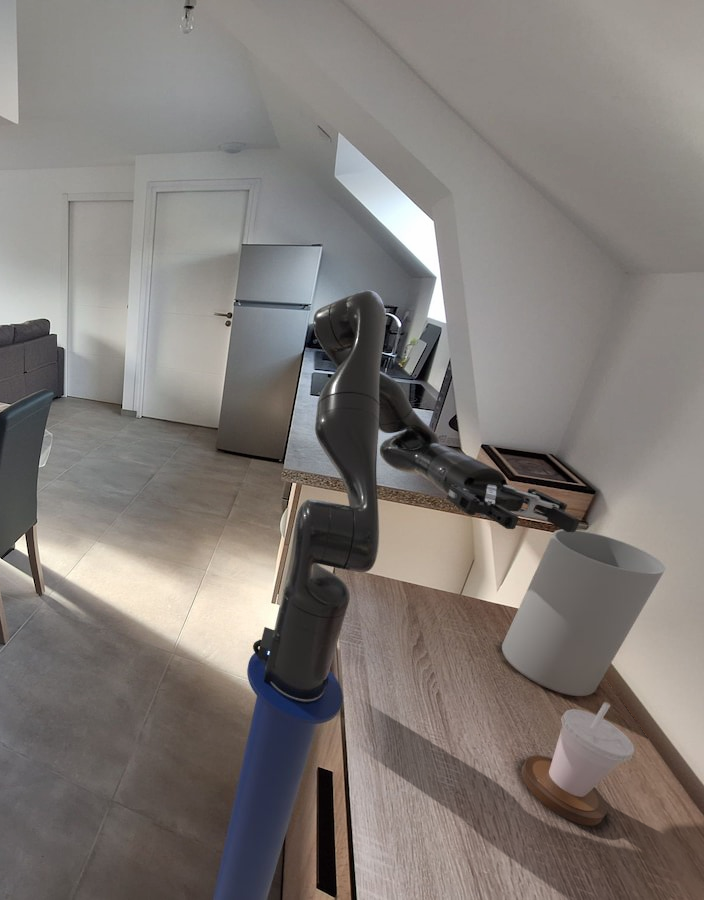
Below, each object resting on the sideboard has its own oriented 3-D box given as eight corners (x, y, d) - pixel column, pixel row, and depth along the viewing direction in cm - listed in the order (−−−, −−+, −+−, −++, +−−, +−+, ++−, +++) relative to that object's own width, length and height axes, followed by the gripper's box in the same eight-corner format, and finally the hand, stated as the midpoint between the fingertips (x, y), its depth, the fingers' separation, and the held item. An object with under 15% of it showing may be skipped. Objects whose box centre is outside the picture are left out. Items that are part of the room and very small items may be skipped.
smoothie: (529, 750, 65) (568, 676, 60) (589, 772, 62) (635, 697, 57) (544, 791, 59) (589, 714, 54) (611, 818, 57) (664, 739, 52)
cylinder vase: (492, 633, 89) (541, 522, 80) (576, 658, 84) (639, 542, 75) (511, 679, 78) (569, 557, 69) (608, 711, 73) (685, 583, 64)
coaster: (531, 805, 59) (536, 797, 59) (513, 752, 66) (517, 745, 65) (614, 838, 56) (620, 830, 55) (586, 779, 63) (591, 772, 62)
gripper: (497, 499, 81) (584, 550, 66) (417, 495, 81) (484, 545, 66) (512, 461, 78) (606, 504, 63) (429, 456, 78) (503, 499, 63)
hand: (544, 525), depth 64 cm, fingers open, 8 cm apart
